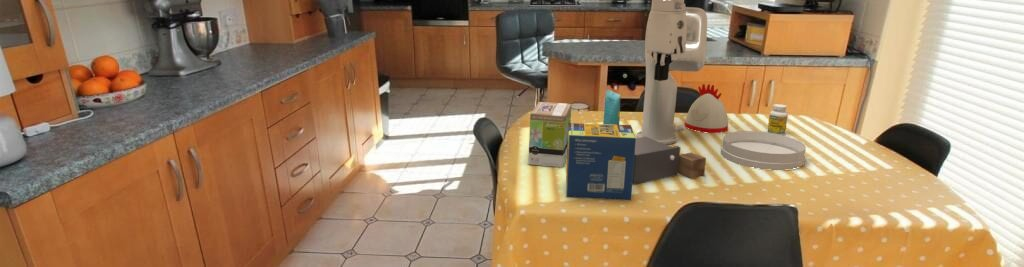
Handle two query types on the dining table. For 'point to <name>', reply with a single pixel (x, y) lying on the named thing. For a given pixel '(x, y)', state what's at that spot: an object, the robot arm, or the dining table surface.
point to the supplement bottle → (778, 120)
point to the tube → (612, 108)
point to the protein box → (600, 161)
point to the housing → (648, 145)
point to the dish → (763, 150)
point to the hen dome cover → (707, 112)
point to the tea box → (549, 134)
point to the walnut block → (691, 165)
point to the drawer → (656, 164)
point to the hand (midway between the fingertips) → (660, 79)
